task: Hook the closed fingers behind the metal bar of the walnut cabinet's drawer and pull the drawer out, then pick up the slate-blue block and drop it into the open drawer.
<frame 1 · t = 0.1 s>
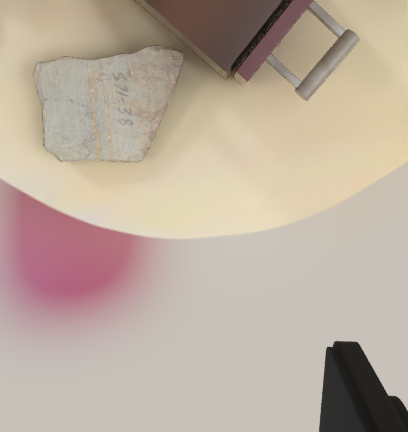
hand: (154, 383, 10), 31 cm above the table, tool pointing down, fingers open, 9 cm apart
stone: (102, 99, 39), on the table
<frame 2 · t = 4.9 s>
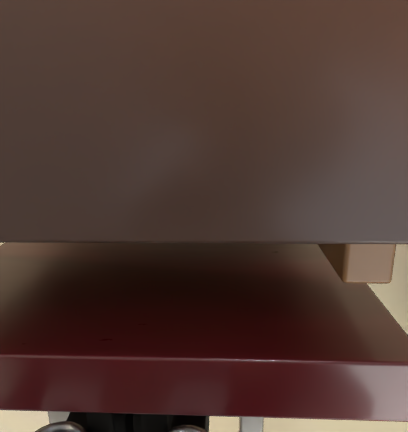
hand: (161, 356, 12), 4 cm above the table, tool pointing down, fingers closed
drawer: (148, 150, 9), point 5 cm above the table, slide at 2.4 cm, touching gripper
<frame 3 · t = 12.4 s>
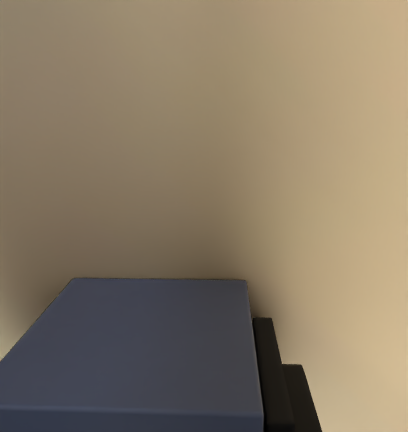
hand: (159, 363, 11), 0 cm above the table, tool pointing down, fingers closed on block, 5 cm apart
block: (162, 353, 12), on the table, touching gripper
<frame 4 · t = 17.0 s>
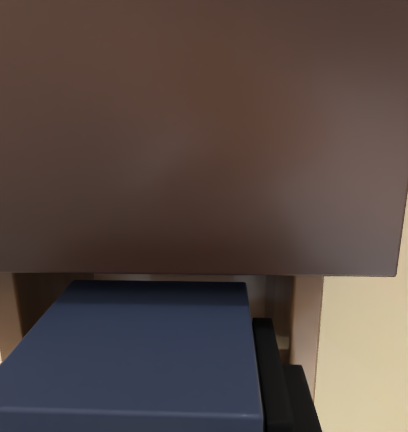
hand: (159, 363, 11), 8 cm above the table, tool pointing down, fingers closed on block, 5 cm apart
drawer: (172, 331, 15), point 5 cm above the table, slide at 7.5 cm
cabinet: (177, 16, 16), on the table
block: (162, 355, 12), point 7 cm above the table, touching gripper
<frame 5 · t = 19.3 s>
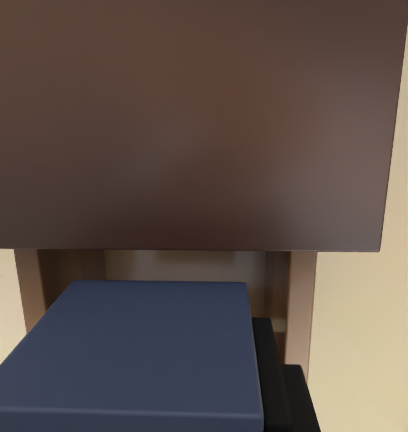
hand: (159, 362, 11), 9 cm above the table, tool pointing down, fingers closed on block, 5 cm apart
drawer: (179, 311, 16), point 5 cm above the table, slide at 7.5 cm
cabinet: (183, 18, 17), on the table
block: (162, 355, 12), point 8 cm above the table, touching gripper
when the fingers open (9 cm above the table, at t = 26.3 s): block drops 7 cm, resting on drawer.
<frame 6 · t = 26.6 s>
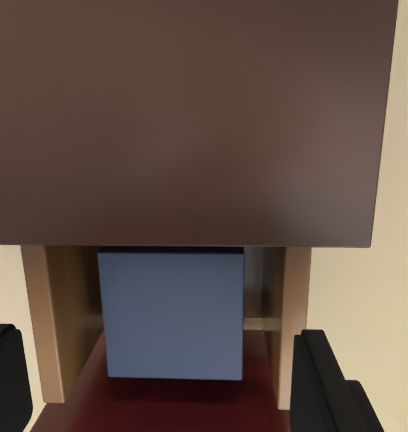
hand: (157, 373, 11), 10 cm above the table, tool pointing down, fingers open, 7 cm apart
drawer: (179, 310, 16), point 5 cm above the table, slide at 7.6 cm, touching block
cabinet: (183, 23, 17), on the table
block: (185, 263, 18), point 2 cm above the table, touching drawer
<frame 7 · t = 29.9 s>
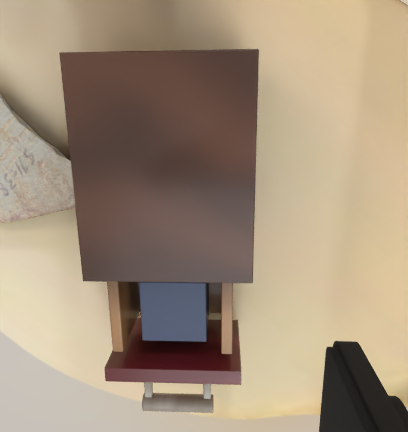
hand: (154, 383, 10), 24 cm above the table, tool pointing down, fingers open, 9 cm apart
drawer: (176, 308, 32), point 5 cm above the table, slide at 7.6 cm, touching block
cabinet: (178, 157, 33), on the table
stone: (7, 146, 34), on the table
block: (180, 283, 34), point 2 cm above the table, touching drawer
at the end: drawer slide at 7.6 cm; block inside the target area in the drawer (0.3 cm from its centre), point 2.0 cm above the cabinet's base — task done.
